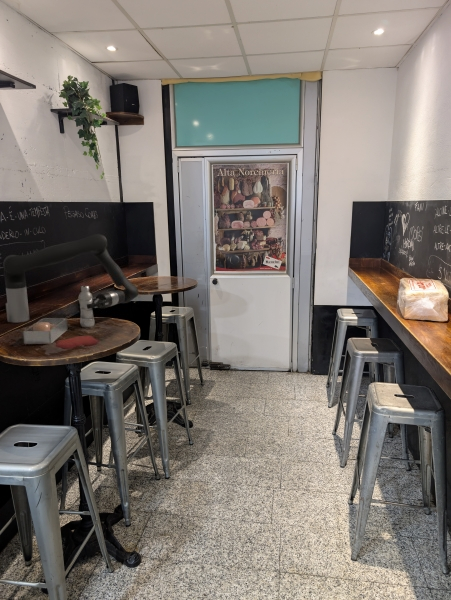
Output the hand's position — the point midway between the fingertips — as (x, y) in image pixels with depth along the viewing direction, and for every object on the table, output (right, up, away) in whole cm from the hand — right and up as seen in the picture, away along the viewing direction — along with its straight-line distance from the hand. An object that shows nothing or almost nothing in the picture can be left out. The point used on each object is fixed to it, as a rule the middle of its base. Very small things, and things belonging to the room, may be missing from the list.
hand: (82, 305), depth 199 cm
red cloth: (+5, -16, -21) cm, 27 cm away
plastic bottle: (+1, -11, +4) cm, 11 cm away
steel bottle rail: (-11, -14, -13) cm, 22 cm away
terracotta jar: (-11, -14, -18) cm, 25 cm away
